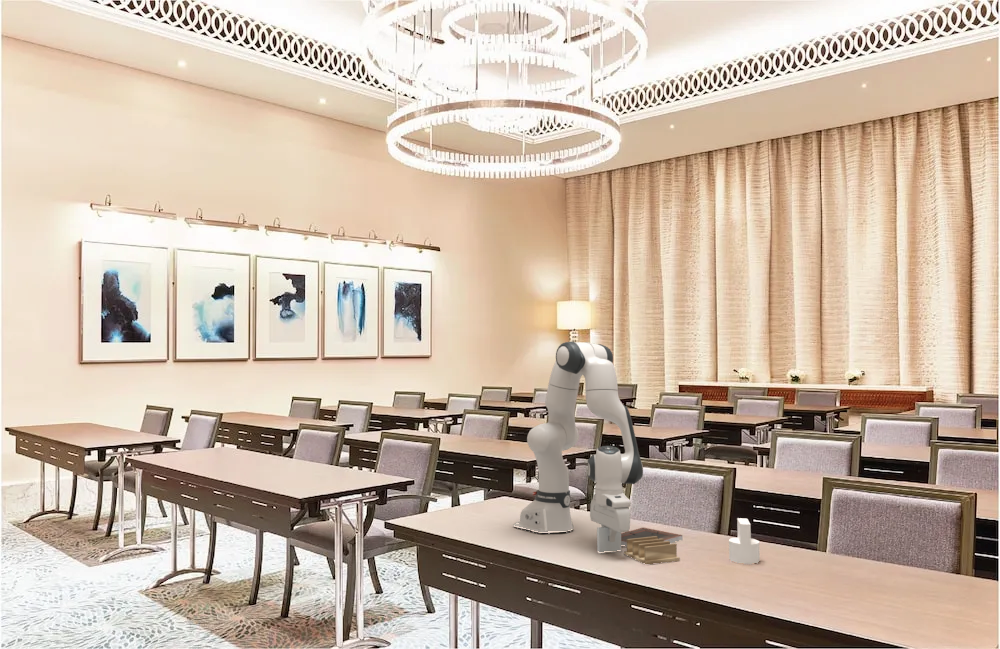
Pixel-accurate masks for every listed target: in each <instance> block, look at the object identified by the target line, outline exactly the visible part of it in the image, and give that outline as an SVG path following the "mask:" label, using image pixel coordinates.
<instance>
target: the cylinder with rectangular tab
mask: <svg viewBox="0 0 1000 649" xmlns="http://www.w3.org/2000/svg"><path fill="white" fill-rule="evenodd" d="M736 520H737V524H736V525H737V526H736V527H737V528H736V530H737V537H731V538H729V540H728V560H729V559H730V560H731V561H730V560H729V561H730V562H732V561H734V562H737V563H736V564H738V563H744V564H743V565H753V564H752V563H757V564H759V563H760V562H759V561H760V558H761V557H760V554H761V553H760V540H757V539H755V538H752V534H751V533H752V532H751V530H752V529H751V525H752V524H751V523H750V521H749V519H748V518H741V517H740V518H739V517H737V518H736ZM734 562H733V563H734ZM758 562H759V563H758Z"/></svg>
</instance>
